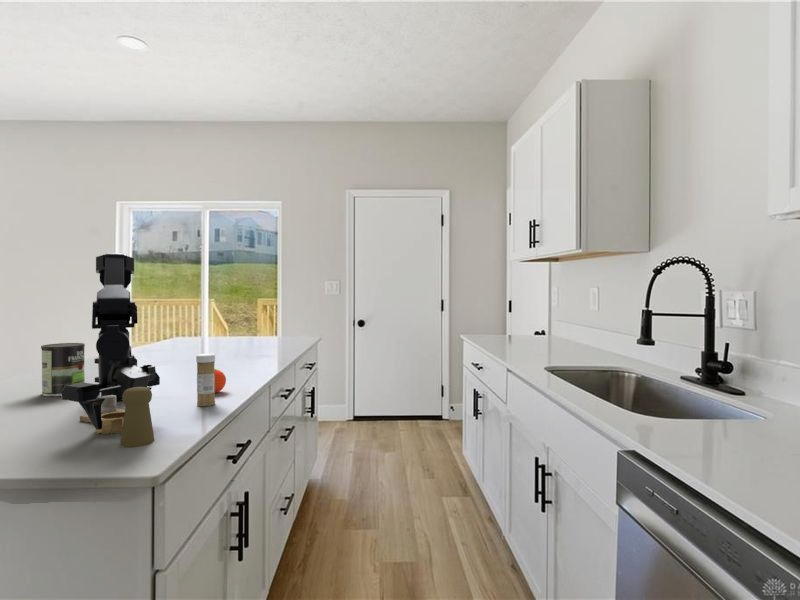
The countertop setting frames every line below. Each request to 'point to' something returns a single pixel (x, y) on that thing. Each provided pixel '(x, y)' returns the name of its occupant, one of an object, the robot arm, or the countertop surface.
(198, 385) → the sprinkles bottle
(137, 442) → the cork
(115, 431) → the ring
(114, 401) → the peg stand
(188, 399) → the countertop surface
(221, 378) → the clementine
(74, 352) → the coffee can
